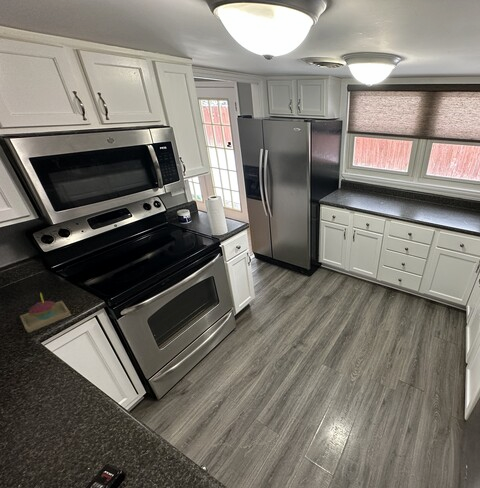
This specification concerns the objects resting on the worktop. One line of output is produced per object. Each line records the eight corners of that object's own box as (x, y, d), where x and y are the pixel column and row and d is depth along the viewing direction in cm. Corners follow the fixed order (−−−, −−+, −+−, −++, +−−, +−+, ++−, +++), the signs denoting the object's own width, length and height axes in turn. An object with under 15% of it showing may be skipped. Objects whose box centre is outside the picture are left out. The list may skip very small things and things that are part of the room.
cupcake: (50, 308, 123) (38, 287, 118) (64, 311, 122) (53, 290, 117) (28, 321, 116) (15, 299, 111) (43, 324, 114) (30, 302, 109)
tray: (21, 319, 117) (19, 315, 116) (63, 303, 128) (61, 300, 127) (27, 332, 110) (25, 329, 110) (71, 315, 121) (69, 311, 120)
